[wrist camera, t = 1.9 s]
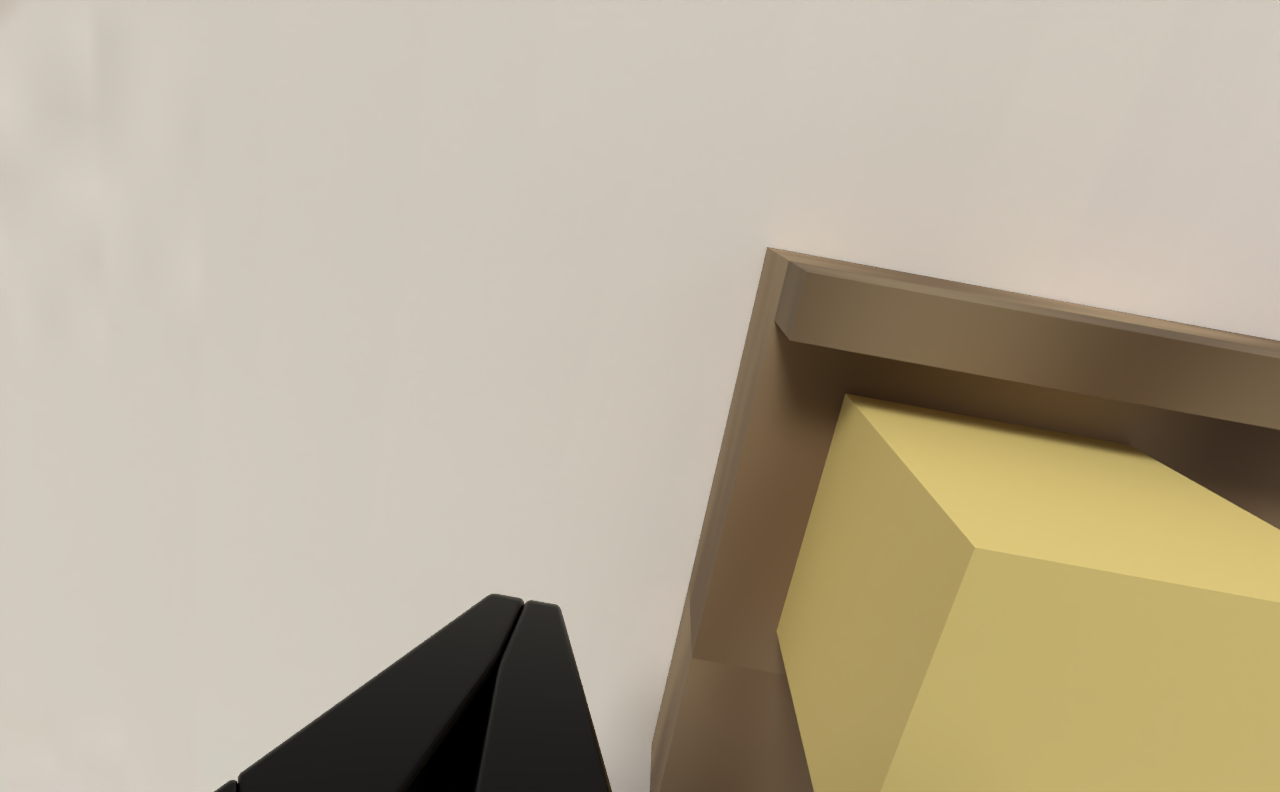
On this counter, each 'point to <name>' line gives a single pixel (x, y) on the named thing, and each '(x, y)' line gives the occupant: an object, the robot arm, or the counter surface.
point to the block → (1027, 616)
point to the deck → (935, 379)
